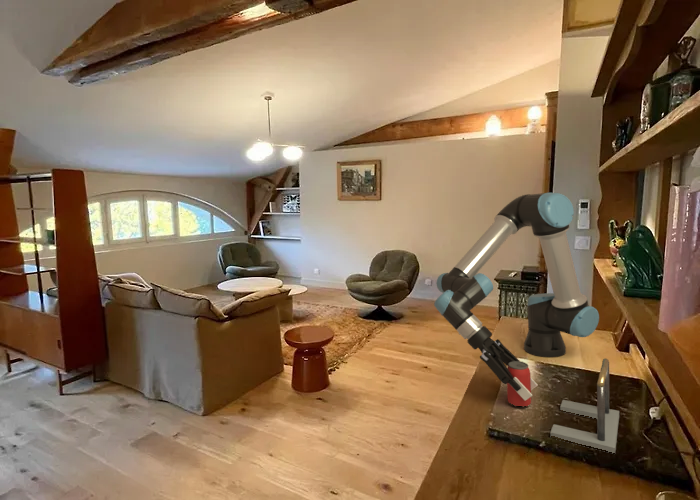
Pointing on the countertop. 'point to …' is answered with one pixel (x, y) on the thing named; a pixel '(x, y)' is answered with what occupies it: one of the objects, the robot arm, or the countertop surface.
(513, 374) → the beer can
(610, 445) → the grey u-shaped base plate
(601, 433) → the hook arm
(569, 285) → the robot arm
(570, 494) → the countertop surface
